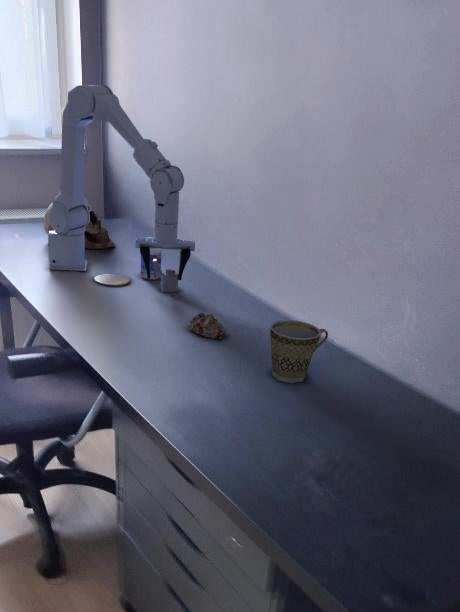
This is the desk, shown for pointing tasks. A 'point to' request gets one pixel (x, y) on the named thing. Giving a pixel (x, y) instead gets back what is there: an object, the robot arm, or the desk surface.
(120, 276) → the coaster
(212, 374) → the desk surface
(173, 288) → the lighter
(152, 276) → the pill bottle
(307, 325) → the ceramic cup
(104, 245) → the brown skull
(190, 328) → the mineral rock
